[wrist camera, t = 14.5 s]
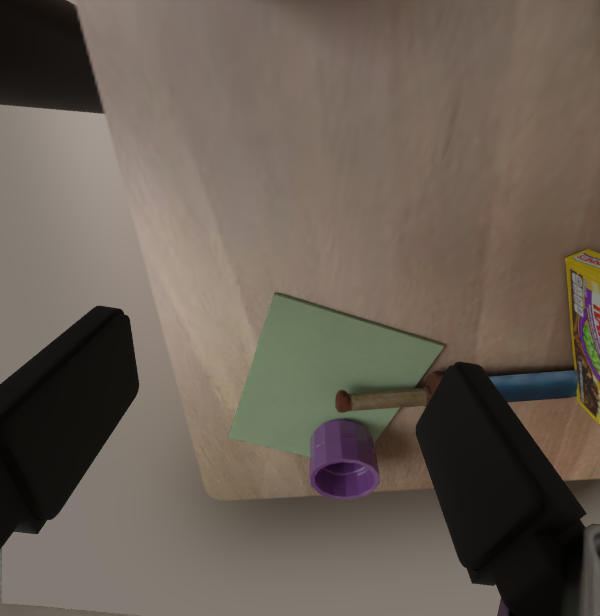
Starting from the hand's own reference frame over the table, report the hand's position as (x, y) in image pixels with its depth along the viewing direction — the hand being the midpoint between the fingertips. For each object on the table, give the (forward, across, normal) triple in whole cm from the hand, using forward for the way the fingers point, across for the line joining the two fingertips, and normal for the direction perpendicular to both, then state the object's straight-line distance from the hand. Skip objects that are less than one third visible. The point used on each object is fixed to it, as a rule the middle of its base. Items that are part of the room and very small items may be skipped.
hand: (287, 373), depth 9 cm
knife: (+16, -18, +12) cm, 27 cm away
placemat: (+16, -5, +17) cm, 24 cm away
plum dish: (+15, -8, +22) cm, 28 cm away
